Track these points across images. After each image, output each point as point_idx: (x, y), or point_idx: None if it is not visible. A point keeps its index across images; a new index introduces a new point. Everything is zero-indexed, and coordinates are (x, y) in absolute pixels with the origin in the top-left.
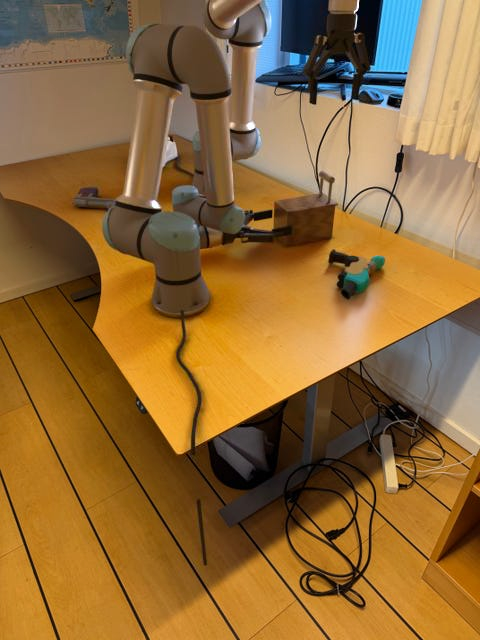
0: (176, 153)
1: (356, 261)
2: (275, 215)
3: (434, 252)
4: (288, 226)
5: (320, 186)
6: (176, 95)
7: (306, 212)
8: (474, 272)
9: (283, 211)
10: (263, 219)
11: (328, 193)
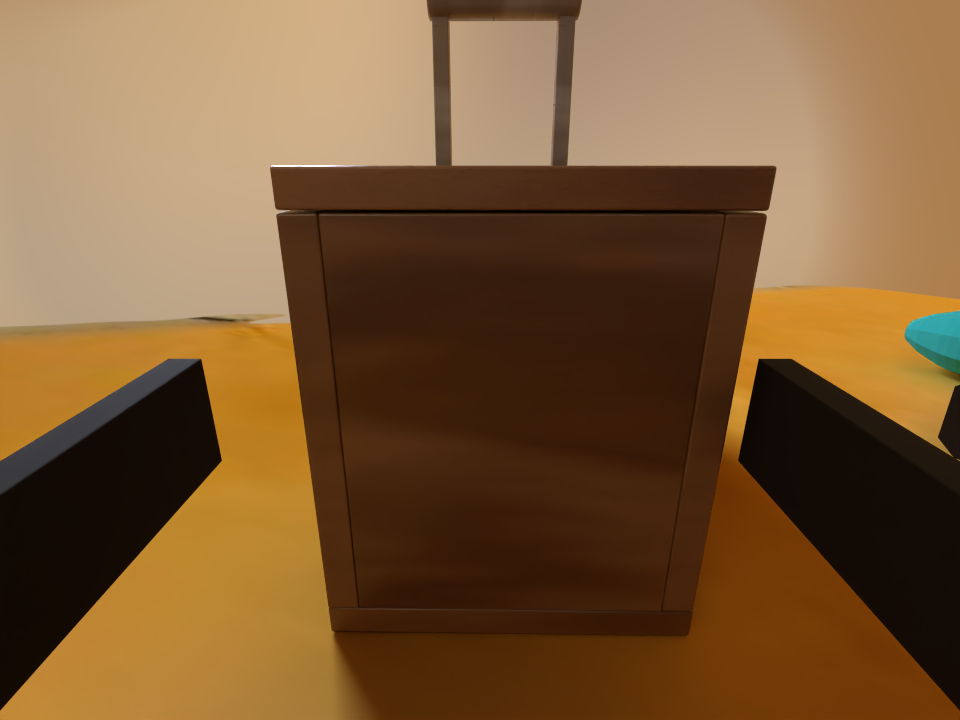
0: None
1: None
2: (354, 381)
3: (752, 293)
4: (796, 375)
5: (443, 90)
6: None
7: None
8: (878, 289)
9: (622, 214)
10: (141, 550)
11: (558, 102)
